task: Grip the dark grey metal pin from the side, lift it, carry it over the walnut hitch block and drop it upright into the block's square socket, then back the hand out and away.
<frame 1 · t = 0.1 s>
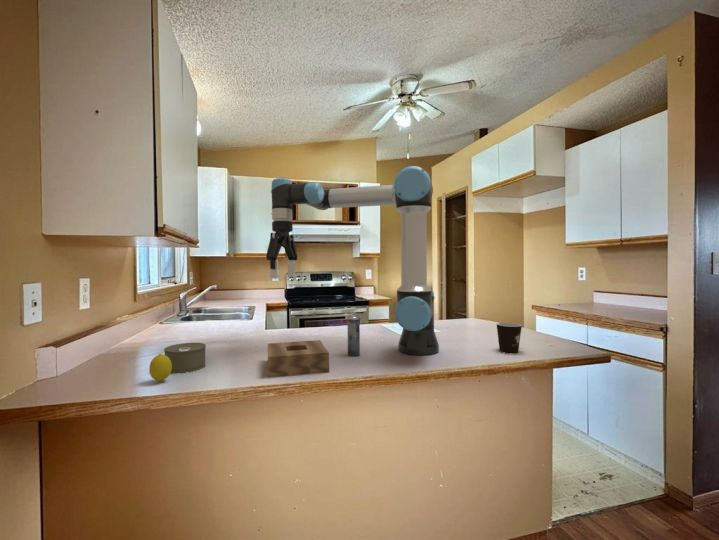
hand: (283, 277, 133), 28 cm above the countertop, tool pointing down, fingers open, 13 cm apart
lemon: (161, 382, 100), on the countertop
can: (185, 368, 114), on the countertop
hitch block: (296, 366, 114), on the countertop
pin: (353, 354, 128), on the countertop
coffee mug: (512, 351, 132), on the countertop
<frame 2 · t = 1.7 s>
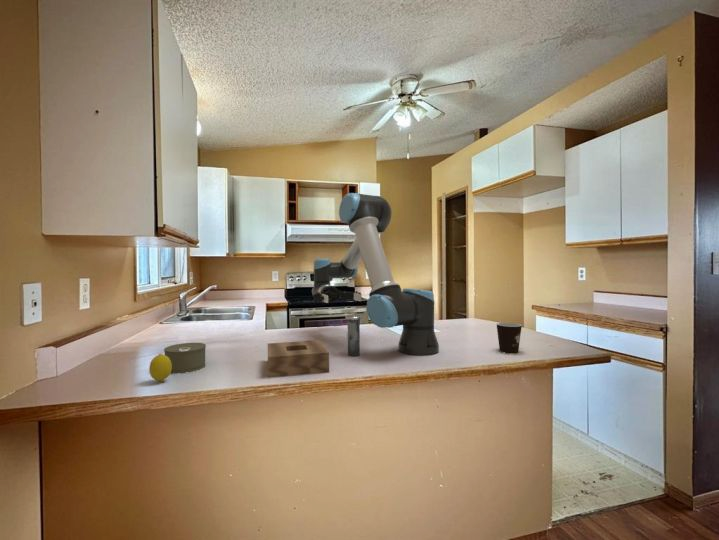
hand: (344, 298, 137), 19 cm above the countertop, tool horizontal, fingers open, 13 cm apart
nothing on the countertop moved.
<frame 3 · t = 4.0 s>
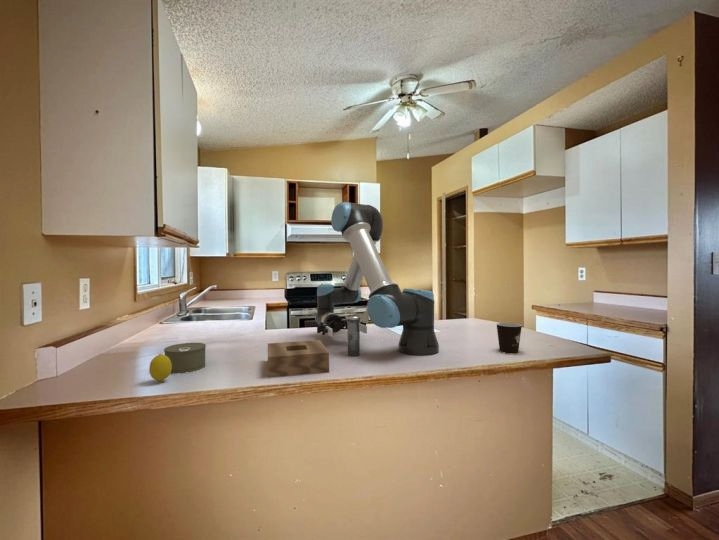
hand: (349, 331, 131), 8 cm above the countertop, tool horizontal, fingers open, 13 cm apart
nothing on the countertop moved.
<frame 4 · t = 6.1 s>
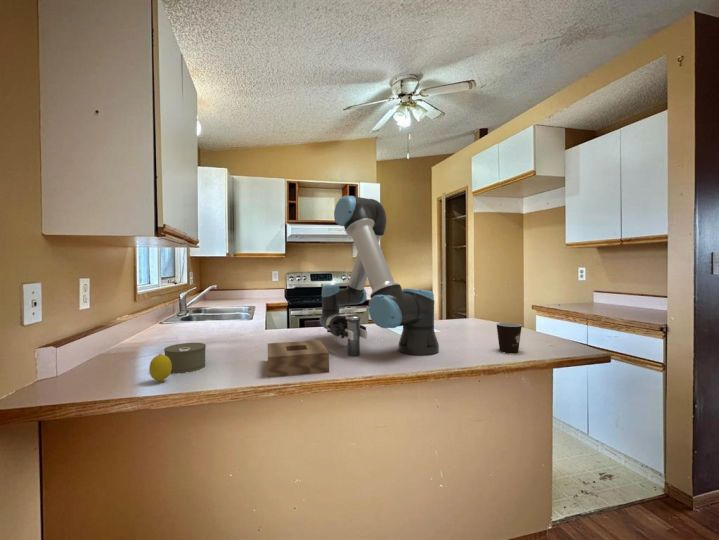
hand: (359, 335, 123), 8 cm above the countertop, tool horizontal, fingers closed on pin, 4 cm apart
pin: (353, 354, 128), on the countertop, touching gripper
everything else where it was.
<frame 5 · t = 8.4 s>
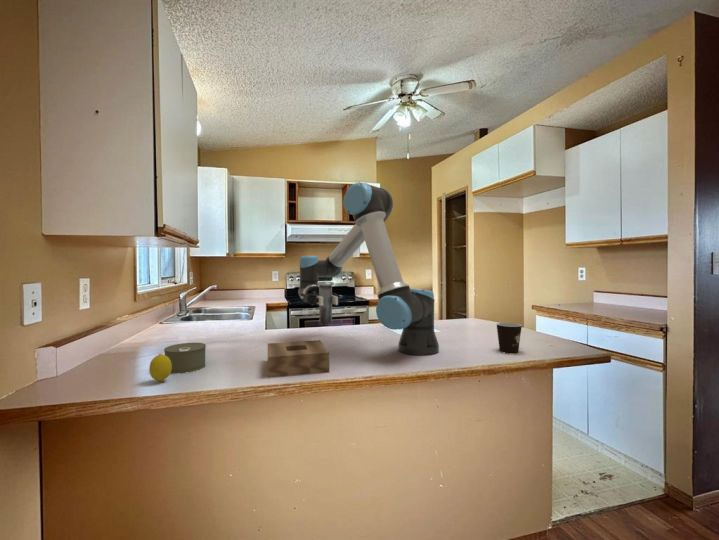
hand: (329, 301, 119), 20 cm above the countertop, tool horizontal, fingers closed on pin, 4 cm apart
pin: (325, 322, 124), point 13 cm above the countertop, touching gripper
everything else where it was.
when the fingers open (12 cm above the countertop, at t = 10.9 s): pin drops 4 cm, resting in hitch block.
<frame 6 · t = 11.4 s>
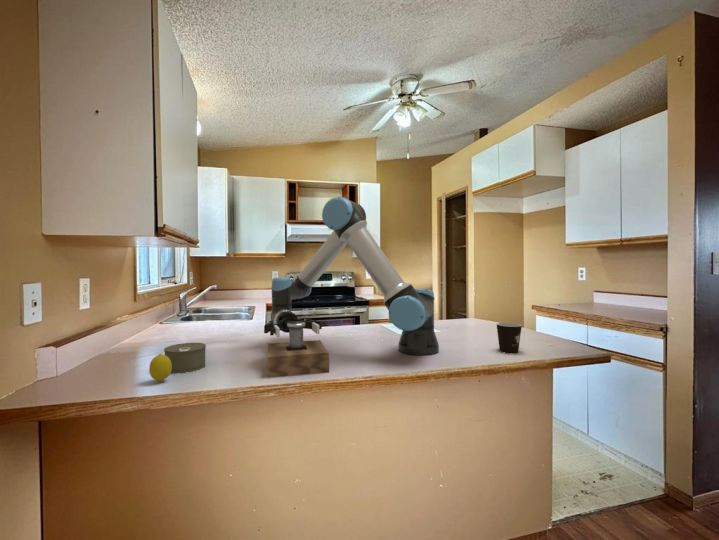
hand: (298, 331, 111), 12 cm above the countertop, tool horizontal, fingers open, 12 cm apart
pin: (296, 366, 114), resting in hitch block
everything else where it was.
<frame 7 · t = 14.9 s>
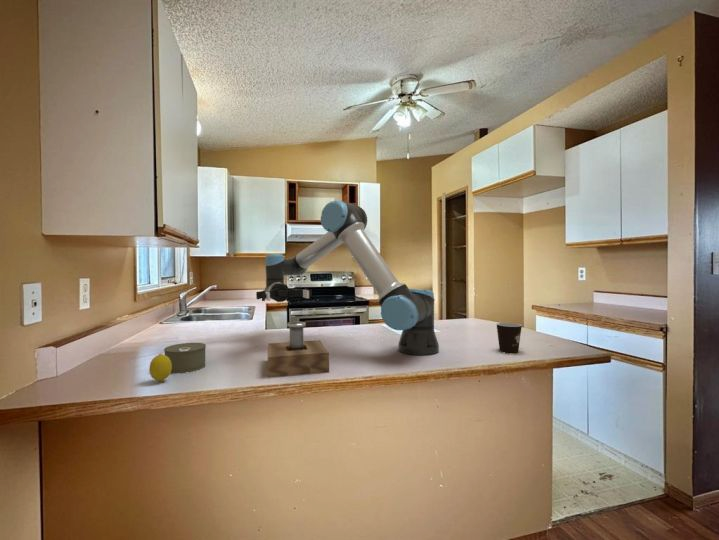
hand: (288, 295, 123), 22 cm above the countertop, tool horizontal, fingers open, 13 cm apart
nothing on the countertop moved.
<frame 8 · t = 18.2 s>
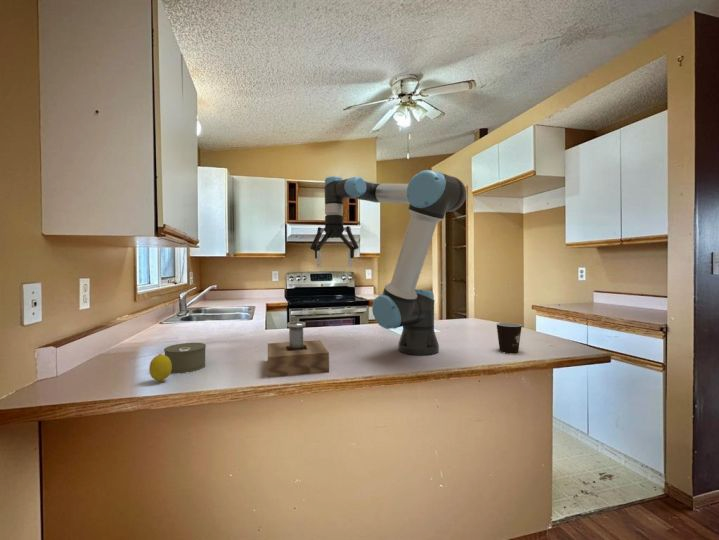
hand: (334, 266, 147), 32 cm above the countertop, tool pointing down, fingers open, 13 cm apart
nothing on the countertop moved.
at the end: pin 0.1 cm off-centre on the hitch block, point 0.0 cm above the hitch block's base; pin tilted 1°; the gripper is holding nothing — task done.
